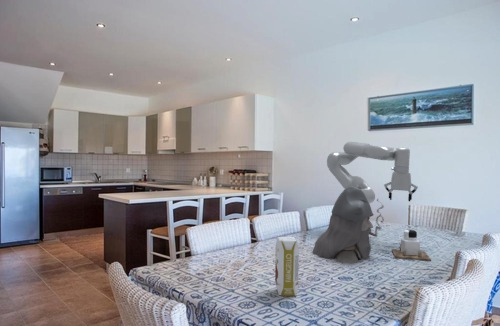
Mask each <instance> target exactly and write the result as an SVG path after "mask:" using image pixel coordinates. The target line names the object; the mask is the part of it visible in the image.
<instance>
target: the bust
mask: <svg viewBox="0 0 500 326" xmlns="http://www.w3.org/2000/svg"><path fill="white" fill-rule="evenodd" d="M376 201H377V202H379V203H380V204H381V207H378V208H377V209H376V213H379V214H378V215H377V216H376V217H375V219H376V220H375V221H376V222H375V223H376V224H377V225H376V226H375V228H374V226H373V224H372V222H371V220H370V219H371V217H373V216H374V215H375V214H374V213H373V211H372V207H371V205H370V204H371V203H369V202H368V200H367V198H366V196H365V194H364V193H363V191H362V190H361V189H359V188H357V187H353V186H351V187H347V188H346V189H344V190H343V191H342V192H341V193H340V194H339V196H338V197H337V199H336V201H334V205H333V207H332V210H331V215H330V218H329V224H328V227H327V229H326V230H325V231H324V232H323V233H321V235H320V236H318V238H317V239H316V241H315V243H314V246H313V249H312V255H315V256H318V257H320V258H324V259H335V262H337V263H340V264H347V265H349V264H350V265H351V264H352V265H354V264H358V263H359V260H366V259H368V258H370V253H371V249H372V247H371V243H370V242H369V239H370V236H373V237H375V238H377V237H378V230H379V231H381V230H382V225H381V224H384V221H385V218H384V216H383V215H382V213H381V212H380V210H381V209H384V208H385V206H384V204H383V203H382V202H380V200H379V198H377V199H376ZM379 217H380V218H381V219H382V220H380V223H381V224H380V223H379V222H378V221H379ZM372 229H375V232H372Z"/></svg>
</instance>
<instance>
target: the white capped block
mask: <svg viewBox="0 0 500 326" xmlns="http://www.w3.org/2000/svg"><path fill="white" fill-rule="evenodd" d="M417 236H418V233H417V231H416V230H413V229H405V230H403V237H402V238H400V244H401V252H402V253H403V248H405V249H406V255H415V256H418V250H421V249H420V248H421V245H420V244H421V241H419V240H418V239H417V238H418V237H417Z"/></svg>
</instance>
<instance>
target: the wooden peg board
mask: <svg viewBox="0 0 500 326" xmlns="http://www.w3.org/2000/svg"><path fill="white" fill-rule="evenodd" d="M391 253H392V254H393V257H394V258H395V259H398V260H399V259H401V260H411V261H412V260H413V261H421V262H424V261H425V262H432V258H431V257H430V256H429V255H428V254H427V252H425V251H423V250H422V249H420V250H418V256H415V255H406V249H405V248H403V253H402V252H401V243H399V249H397V248H391Z"/></svg>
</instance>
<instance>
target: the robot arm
mask: <svg viewBox="0 0 500 326" xmlns="http://www.w3.org/2000/svg"><path fill="white" fill-rule="evenodd" d="M342 149H343V152H341V151H334V152H331V153H330V154H329V155H328V156H327V157H326V166H327V168H328V170H329V171H330V173H331V174H332V175H333V176H334V178H335V179H336V180H337V181H338V183H339V184H340V185H341V186H342V187H343V189H344V190H345V189H346V188H347V187H351V186H353V187H357V188H359V189H361V190H362V191H363V193H364V194H365V196H366V198H367V200H368V202H369V204H371V203H373V202H375V199H376V194H375V191H374V190H373V189H372V188H371V187H370V185H369V184H368V183H367V182H366V181H365V180H364V179H363V178H362V177H361V176H358V175H356V176H355V175H351V173H350V172H349V171H348V170H347V169H346V168H345V167H344V166H347V165H349V164H351V163H352V162H353V161H355V160H356V159H357V158H359V157H360V158H365V159H373V160H380V161H391V162H392V161H393V162H394V166H393V167H391V171H393V172H392V174H391V179H390V181H389V182H387V183H385V184H383V186H384V188H385V190H386V191H387V192H388V199H389V201H391V200H393V199H392V197H393V196H392V195H393V193H392V192H393V191H402V192H403V191H405V192H406V191H407V192H408V199H407V201H408V202H411V201H412V197H413V194H414V193H415V192H416V191H417V190H418V188H419V187H418V186H417V185H415V184H413V183H412V176H411V175H412V174H411V172H410V156H411V149H409V148H407V147H396V148H395V147H388V146H381V145H380V146H379V145H372V144H369V143H365V142H364V143H363V142H358V141H347V142H346V143H345V144H344V145H343V148H342ZM388 186H390V189H389V188H388ZM412 188H413V189H412ZM411 189H412V190H411ZM370 242H371V238H369V243H370Z"/></svg>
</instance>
